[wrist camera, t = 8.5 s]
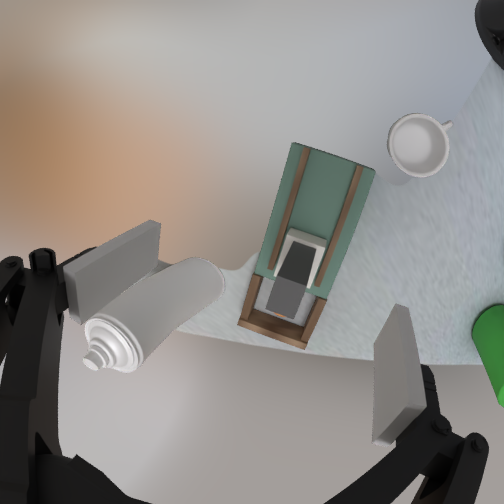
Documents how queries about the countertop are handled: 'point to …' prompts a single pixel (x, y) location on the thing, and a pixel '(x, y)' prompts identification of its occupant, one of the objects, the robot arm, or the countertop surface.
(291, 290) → the block
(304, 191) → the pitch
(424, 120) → the teacup
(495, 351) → the bottle
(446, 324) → the countertop surface
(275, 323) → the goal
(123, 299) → the spray can
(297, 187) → the rails
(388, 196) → the countertop surface
